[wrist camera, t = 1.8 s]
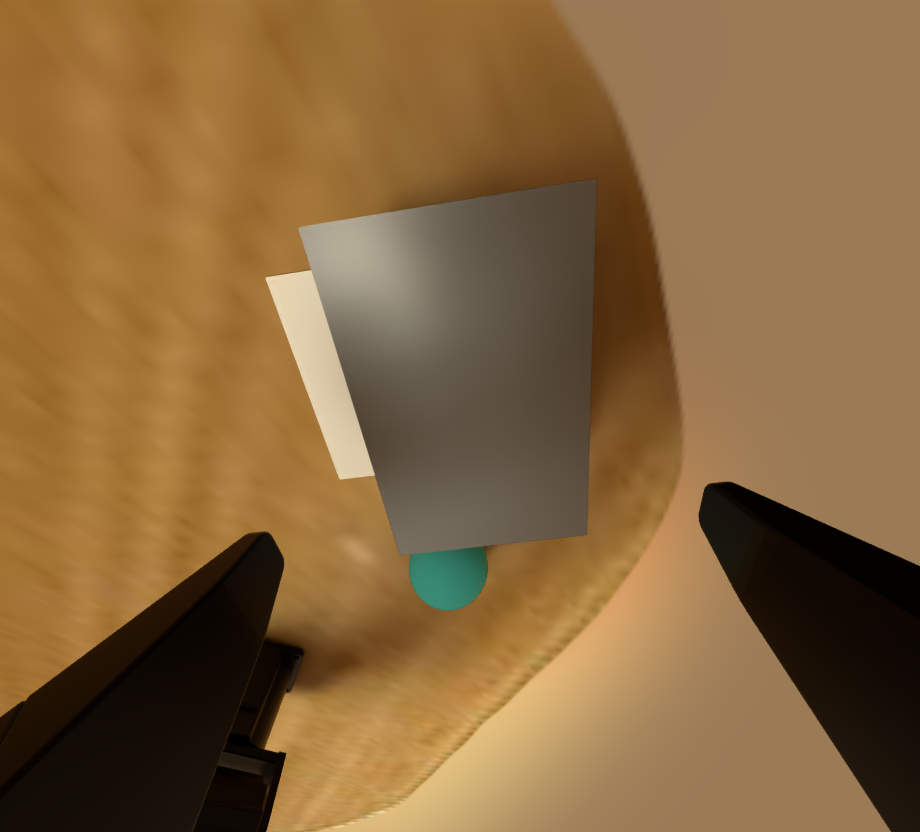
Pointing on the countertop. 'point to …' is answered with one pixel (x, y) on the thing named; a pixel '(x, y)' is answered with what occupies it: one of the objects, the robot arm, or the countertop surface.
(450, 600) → the ball
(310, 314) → the white rectangular prism
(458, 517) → the gray rectangular prism
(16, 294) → the countertop surface
